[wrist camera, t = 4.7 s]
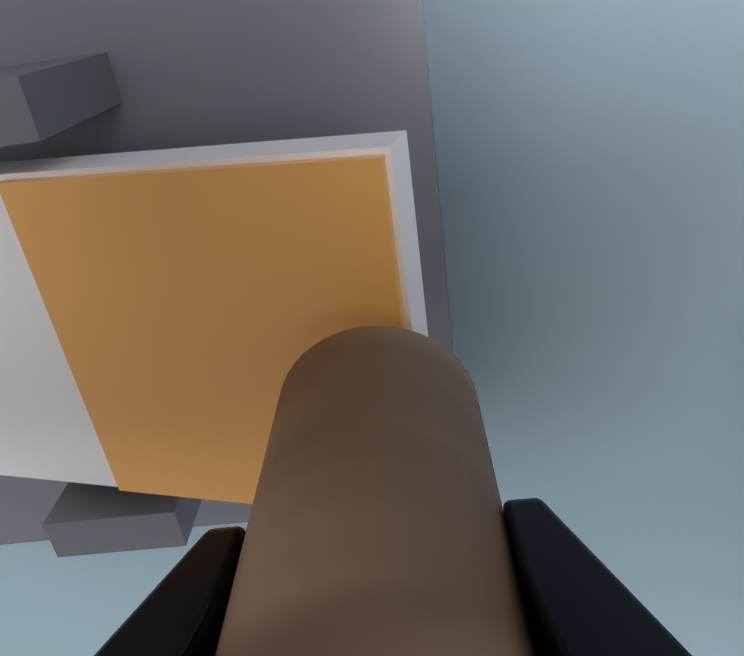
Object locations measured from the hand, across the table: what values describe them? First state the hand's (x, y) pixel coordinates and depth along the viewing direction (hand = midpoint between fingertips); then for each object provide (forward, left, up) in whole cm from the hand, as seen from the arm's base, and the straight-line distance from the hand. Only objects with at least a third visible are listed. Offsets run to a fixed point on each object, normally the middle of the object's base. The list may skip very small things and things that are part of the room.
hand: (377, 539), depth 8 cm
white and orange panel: (+7, 0, -6) cm, 9 cm away
